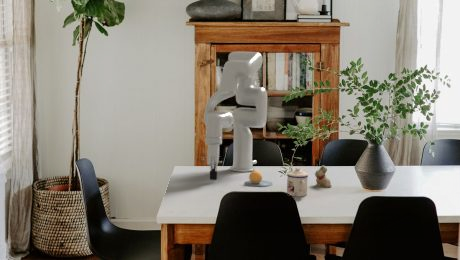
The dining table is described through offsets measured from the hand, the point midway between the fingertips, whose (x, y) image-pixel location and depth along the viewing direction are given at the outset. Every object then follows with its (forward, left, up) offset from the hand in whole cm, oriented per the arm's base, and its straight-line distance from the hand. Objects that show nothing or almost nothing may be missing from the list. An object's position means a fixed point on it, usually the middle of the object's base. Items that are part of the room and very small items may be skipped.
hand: (213, 179), depth 320 cm
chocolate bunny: (-28, +42, -2) cm, 51 cm away
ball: (-11, +16, +2) cm, 20 cm away
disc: (-12, +17, -2) cm, 21 cm away
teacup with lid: (-5, +43, -2) cm, 43 cm away
